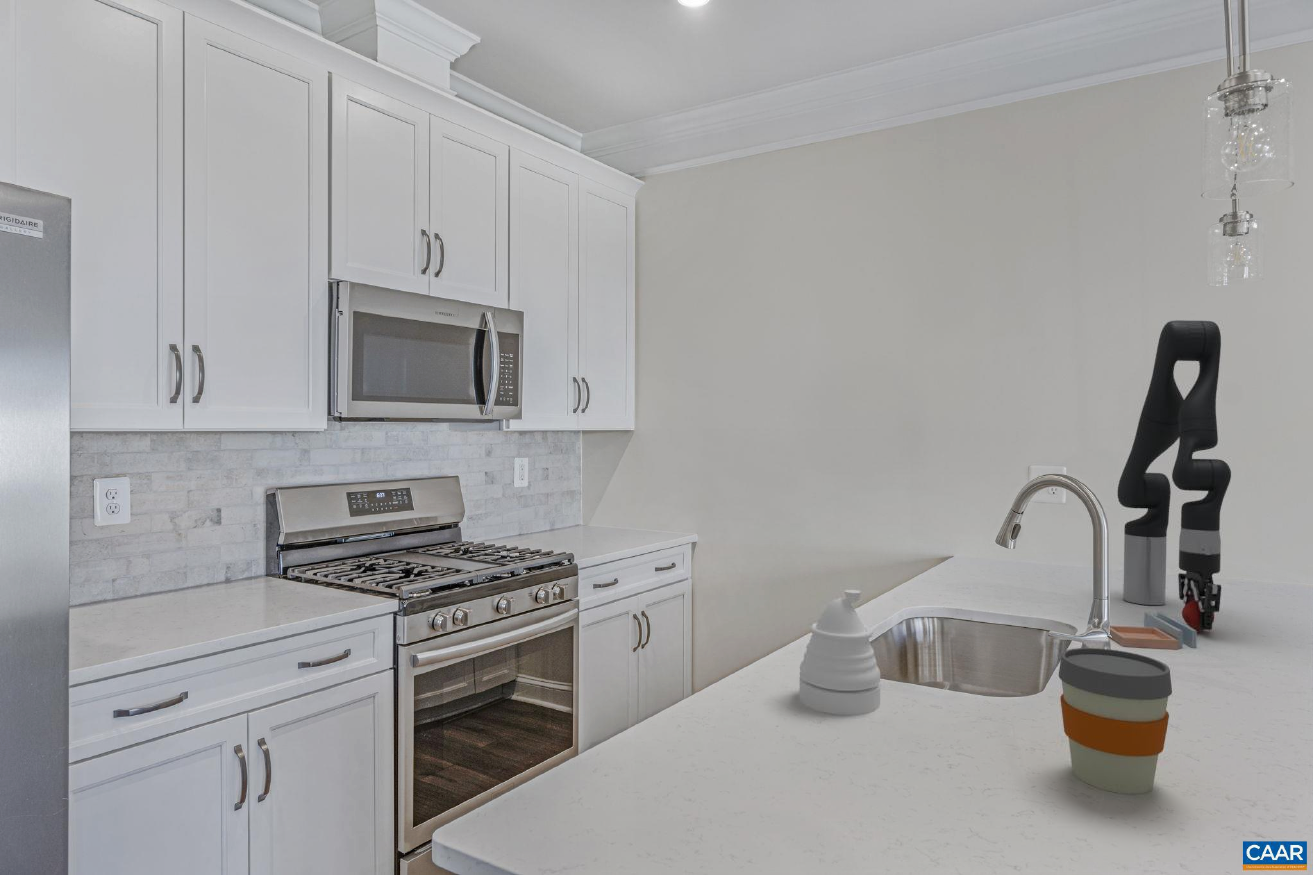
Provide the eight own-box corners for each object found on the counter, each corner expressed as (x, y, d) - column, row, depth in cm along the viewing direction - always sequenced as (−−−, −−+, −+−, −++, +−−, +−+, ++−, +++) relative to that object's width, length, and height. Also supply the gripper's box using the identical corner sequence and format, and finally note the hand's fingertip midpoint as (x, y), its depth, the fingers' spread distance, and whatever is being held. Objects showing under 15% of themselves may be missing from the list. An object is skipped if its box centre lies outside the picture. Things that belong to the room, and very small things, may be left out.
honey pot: (879, 691, 133) (881, 585, 132) (880, 718, 120) (881, 601, 120) (802, 684, 136) (804, 580, 136) (795, 710, 124) (796, 596, 123)
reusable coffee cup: (1042, 776, 101) (1044, 660, 101) (1075, 748, 110) (1077, 641, 109) (1155, 811, 92) (1157, 684, 92) (1181, 778, 101) (1183, 661, 100)
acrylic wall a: (1156, 627, 176) (1157, 612, 176) (1160, 627, 176) (1161, 612, 176) (1192, 647, 161) (1192, 630, 161) (1196, 647, 160) (1196, 630, 160)
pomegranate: (1204, 628, 176) (1204, 593, 175) (1219, 635, 170) (1220, 598, 170) (1176, 627, 176) (1177, 592, 176) (1191, 634, 170) (1192, 598, 170)
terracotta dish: (1104, 633, 171) (1104, 625, 171) (1155, 636, 169) (1155, 627, 169) (1123, 646, 161) (1123, 637, 161) (1178, 649, 159) (1178, 640, 159)
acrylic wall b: (1144, 628, 176) (1144, 612, 176) (1148, 628, 176) (1148, 612, 176) (1178, 648, 160) (1178, 630, 160) (1182, 648, 160) (1182, 631, 160)
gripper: (1165, 544, 180) (1164, 617, 181) (1197, 554, 166) (1195, 633, 167) (1202, 545, 179) (1200, 618, 179) (1236, 555, 165) (1234, 635, 165)
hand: (1198, 625), depth 173 cm, fingers open, 6 cm apart
